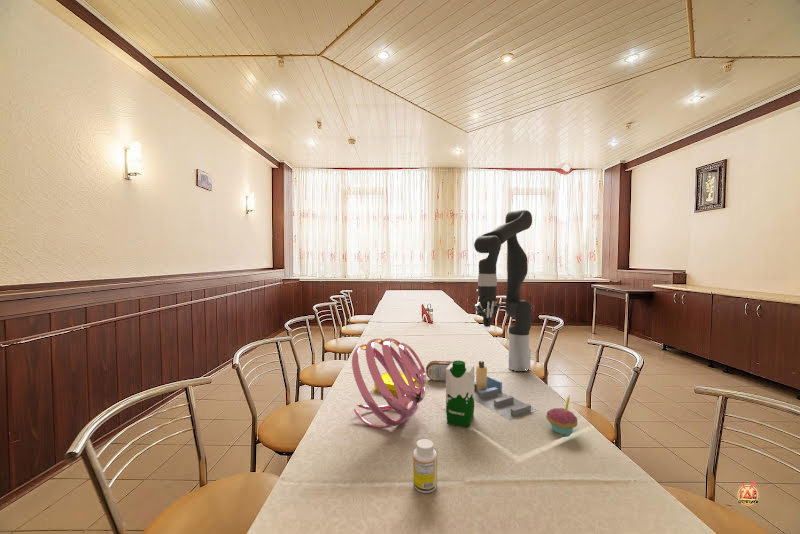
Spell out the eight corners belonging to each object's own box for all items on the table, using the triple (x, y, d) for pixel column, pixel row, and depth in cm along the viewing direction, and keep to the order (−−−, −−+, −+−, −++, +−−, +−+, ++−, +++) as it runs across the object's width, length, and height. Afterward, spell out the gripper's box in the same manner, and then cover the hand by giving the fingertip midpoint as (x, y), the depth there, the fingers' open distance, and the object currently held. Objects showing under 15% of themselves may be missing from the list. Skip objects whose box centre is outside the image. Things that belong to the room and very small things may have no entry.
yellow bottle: (481, 389, 130) (481, 359, 130) (489, 393, 127) (489, 362, 127) (474, 391, 129) (474, 361, 128) (481, 395, 125) (481, 364, 125)
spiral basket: (311, 366, 104) (381, 320, 99) (353, 361, 129) (409, 324, 125) (349, 455, 94) (428, 409, 89) (385, 431, 119) (448, 394, 115)
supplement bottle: (422, 474, 81) (422, 434, 81) (441, 484, 78) (441, 442, 77) (408, 487, 77) (408, 444, 77) (427, 498, 73) (427, 453, 73)
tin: (460, 380, 144) (460, 360, 143) (461, 382, 140) (461, 363, 140) (426, 378, 145) (425, 360, 145) (425, 381, 142) (425, 362, 142)
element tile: (372, 391, 133) (372, 379, 133) (389, 378, 146) (389, 368, 146) (406, 398, 126) (406, 385, 126) (420, 384, 140) (420, 373, 140)
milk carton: (443, 424, 106) (443, 362, 105) (451, 412, 114) (451, 355, 113) (470, 430, 102) (470, 366, 101) (476, 417, 110) (476, 358, 110)
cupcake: (574, 428, 103) (575, 390, 102) (579, 443, 95) (580, 402, 94) (544, 423, 106) (545, 387, 105) (547, 437, 98) (548, 398, 97)
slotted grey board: (485, 386, 136) (485, 374, 136) (538, 412, 113) (538, 398, 113) (458, 393, 129) (458, 381, 129) (509, 422, 106) (509, 407, 106)
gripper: (492, 283, 141) (492, 323, 142) (468, 284, 135) (468, 326, 136) (505, 284, 135) (505, 326, 135) (481, 286, 128) (481, 330, 129)
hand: (487, 326), depth 136 cm, fingers closed
